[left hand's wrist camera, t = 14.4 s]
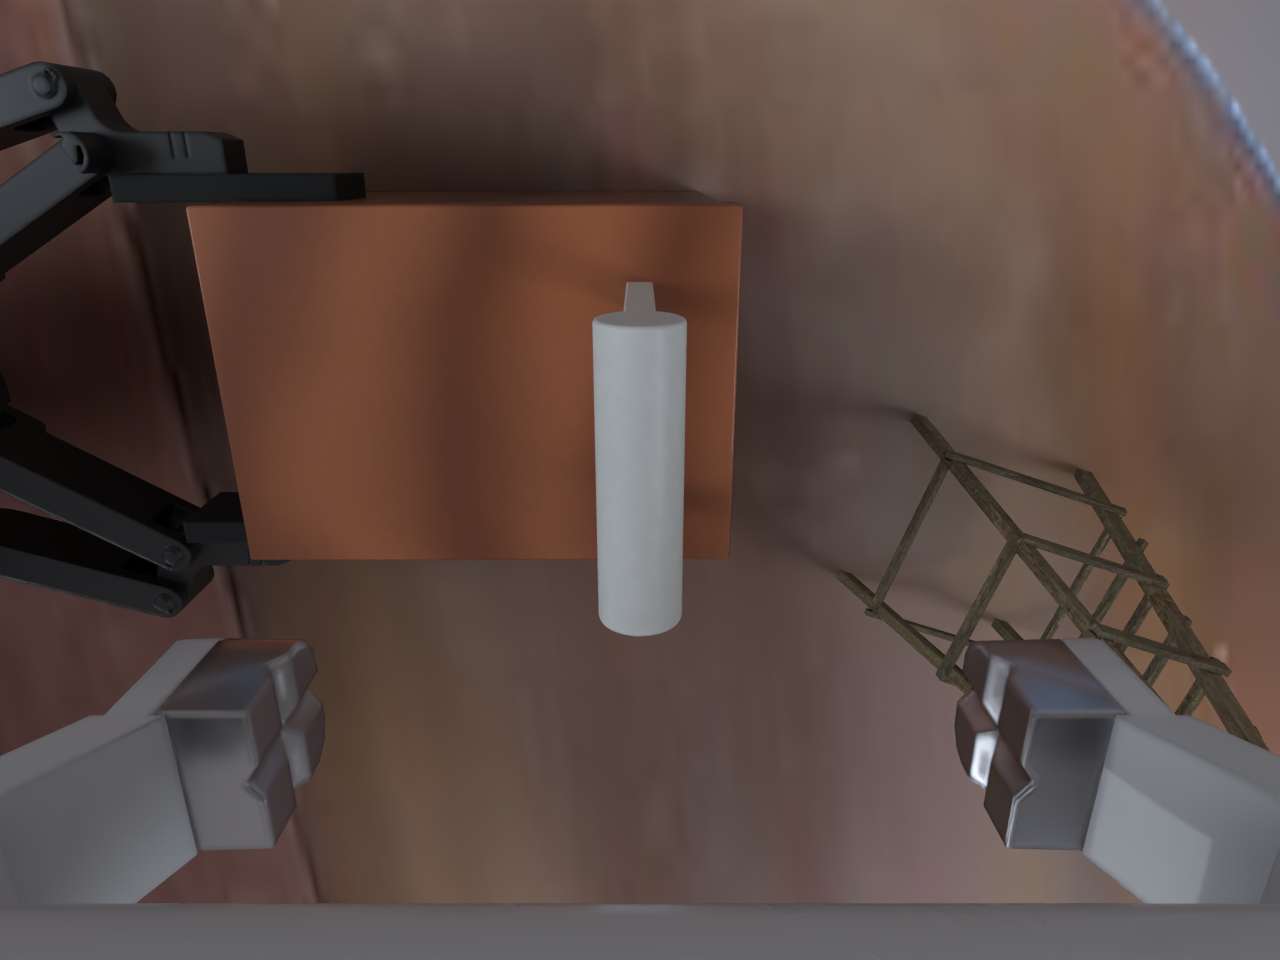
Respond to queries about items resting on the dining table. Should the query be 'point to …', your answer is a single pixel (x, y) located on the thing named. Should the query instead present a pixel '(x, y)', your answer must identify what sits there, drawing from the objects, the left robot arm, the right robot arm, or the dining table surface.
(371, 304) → the wooden panel with handle
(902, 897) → the dining table surface
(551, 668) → the dining table surface
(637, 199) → the open box
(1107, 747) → the left robot arm
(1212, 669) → the miniature windmill
